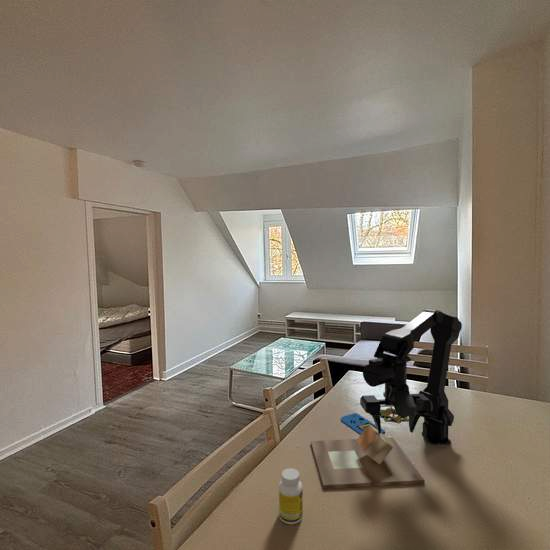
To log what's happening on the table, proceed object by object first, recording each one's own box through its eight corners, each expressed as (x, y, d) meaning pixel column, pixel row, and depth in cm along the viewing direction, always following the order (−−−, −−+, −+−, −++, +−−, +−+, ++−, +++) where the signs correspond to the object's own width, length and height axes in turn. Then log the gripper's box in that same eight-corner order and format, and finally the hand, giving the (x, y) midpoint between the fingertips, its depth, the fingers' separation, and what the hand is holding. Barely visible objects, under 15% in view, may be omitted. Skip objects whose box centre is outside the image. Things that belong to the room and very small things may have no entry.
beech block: (385, 435, 96) (369, 423, 96) (393, 447, 90) (376, 434, 90) (372, 451, 96) (356, 439, 96) (379, 464, 90) (363, 451, 90)
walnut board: (392, 440, 104) (392, 437, 103) (424, 483, 84) (424, 479, 84) (311, 444, 102) (311, 441, 102) (323, 488, 82) (323, 485, 82)
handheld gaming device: (356, 411, 122) (386, 430, 108) (356, 414, 122) (386, 433, 108) (338, 417, 118) (366, 437, 105) (338, 420, 118) (366, 440, 105)
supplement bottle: (304, 524, 71) (304, 481, 71) (280, 526, 71) (279, 482, 71) (300, 505, 77) (300, 465, 76) (277, 507, 76) (277, 467, 76)
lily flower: (416, 425, 114) (416, 412, 113) (381, 425, 114) (381, 412, 114) (403, 409, 126) (403, 397, 125) (372, 409, 126) (372, 397, 126)
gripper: (372, 390, 84) (372, 450, 84) (443, 388, 85) (443, 447, 85) (359, 375, 95) (359, 428, 96) (422, 373, 96) (422, 425, 96)
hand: (395, 432), depth 93 cm, fingers open, 9 cm apart
